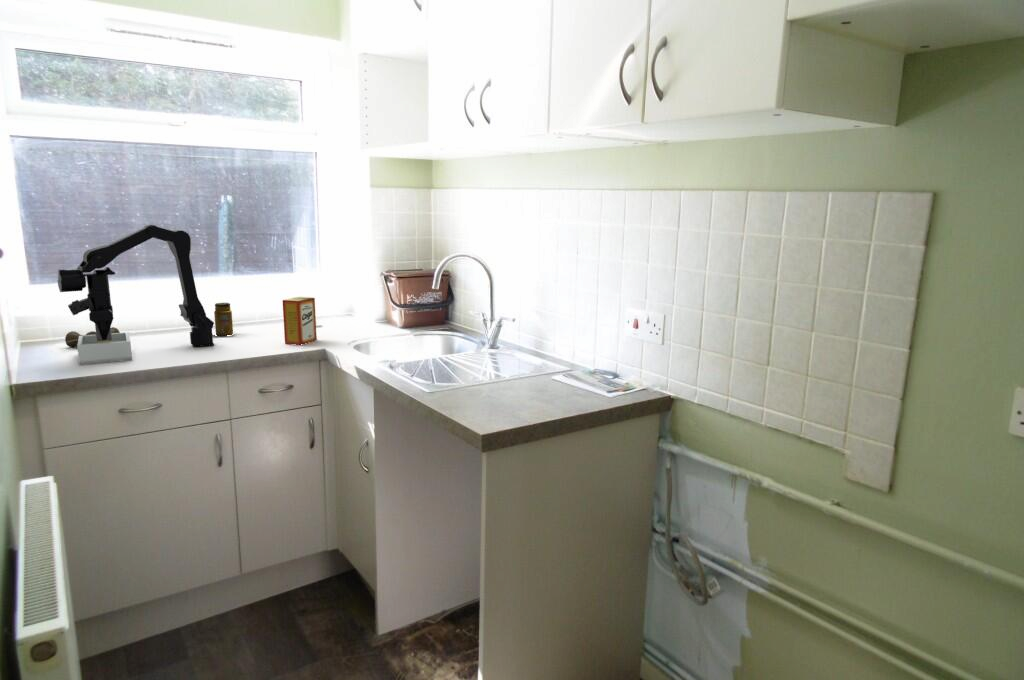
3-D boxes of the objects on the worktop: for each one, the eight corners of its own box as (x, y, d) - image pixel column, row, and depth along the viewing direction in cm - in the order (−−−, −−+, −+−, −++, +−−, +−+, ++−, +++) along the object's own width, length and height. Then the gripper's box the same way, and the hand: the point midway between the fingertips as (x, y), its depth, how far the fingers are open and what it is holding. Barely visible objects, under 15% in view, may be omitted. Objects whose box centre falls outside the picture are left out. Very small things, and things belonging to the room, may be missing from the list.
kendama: (127, 342, 240) (78, 352, 221) (105, 341, 243) (55, 351, 224) (125, 325, 240) (76, 334, 220) (103, 325, 242) (53, 333, 223)
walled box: (130, 349, 226) (128, 332, 225) (132, 360, 211) (130, 341, 209) (81, 353, 219) (79, 335, 218) (79, 365, 204) (77, 345, 202)
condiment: (236, 333, 257) (233, 301, 255) (232, 337, 249) (229, 305, 247) (215, 333, 256) (213, 302, 253) (211, 337, 247) (208, 305, 245)
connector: (112, 347, 217) (109, 319, 215) (112, 349, 213) (109, 321, 212) (98, 348, 215) (95, 320, 213) (98, 350, 211) (94, 322, 210)
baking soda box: (300, 345, 235) (298, 300, 232) (285, 344, 237) (282, 299, 234) (316, 340, 244) (314, 296, 241) (301, 339, 246) (299, 295, 243)
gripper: (69, 288, 214) (75, 336, 217) (66, 294, 199) (73, 346, 202) (110, 286, 220) (115, 333, 223) (110, 292, 204) (116, 342, 207)
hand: (104, 338), depth 213 cm, fingers closed on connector, 4 cm apart
